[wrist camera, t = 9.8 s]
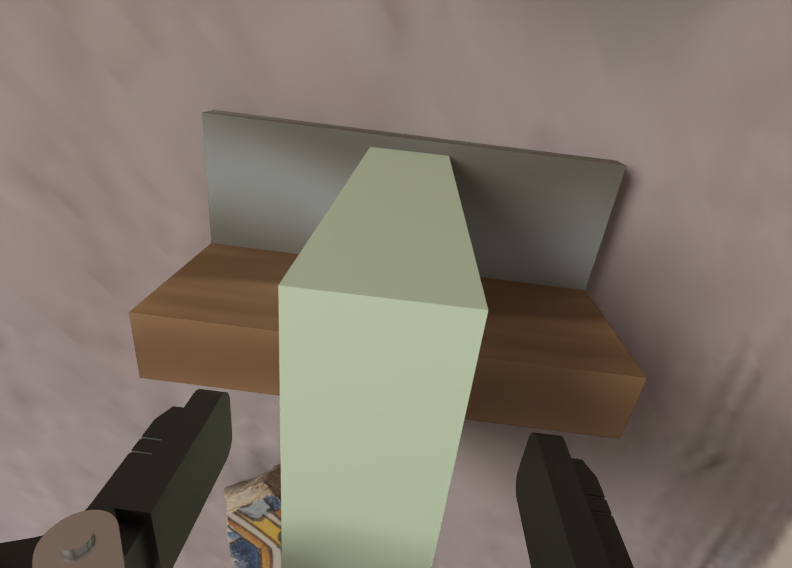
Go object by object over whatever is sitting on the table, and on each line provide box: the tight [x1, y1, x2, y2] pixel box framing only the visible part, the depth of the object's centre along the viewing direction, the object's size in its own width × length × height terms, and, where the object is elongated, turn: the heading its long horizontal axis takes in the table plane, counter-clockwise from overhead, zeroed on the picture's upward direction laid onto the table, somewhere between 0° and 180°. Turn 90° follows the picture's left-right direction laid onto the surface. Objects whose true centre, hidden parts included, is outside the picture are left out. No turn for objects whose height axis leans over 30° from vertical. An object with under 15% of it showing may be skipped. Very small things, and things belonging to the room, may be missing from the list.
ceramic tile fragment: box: [223, 464, 282, 568], centre depth 28 cm, size 12×3×10 cm
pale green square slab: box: [278, 147, 488, 568], centre depth 14 cm, size 12×3×12 cm, turn 174°
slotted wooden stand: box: [129, 110, 647, 439], centre depth 18 cm, size 13×16×7 cm
